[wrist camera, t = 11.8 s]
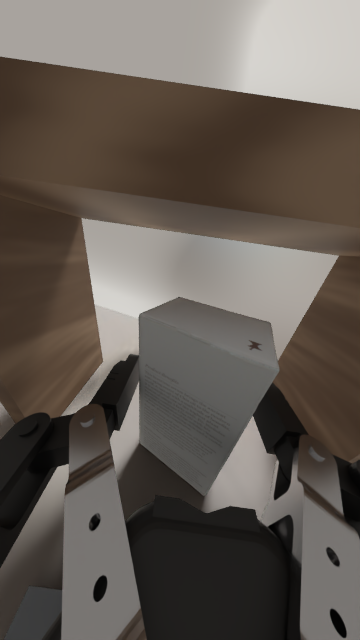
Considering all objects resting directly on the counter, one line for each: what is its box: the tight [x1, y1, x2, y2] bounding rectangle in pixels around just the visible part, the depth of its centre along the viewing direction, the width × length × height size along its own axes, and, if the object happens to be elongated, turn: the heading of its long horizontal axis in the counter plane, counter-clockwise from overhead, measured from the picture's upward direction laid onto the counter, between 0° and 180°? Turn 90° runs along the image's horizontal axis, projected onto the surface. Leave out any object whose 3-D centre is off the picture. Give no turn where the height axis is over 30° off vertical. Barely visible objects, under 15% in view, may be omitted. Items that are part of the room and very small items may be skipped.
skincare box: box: [139, 297, 279, 496], centre depth 10 cm, size 6×4×12 cm
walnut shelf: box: [0, 57, 360, 464], centre depth 11 cm, size 24×9×18 cm, turn 86°
